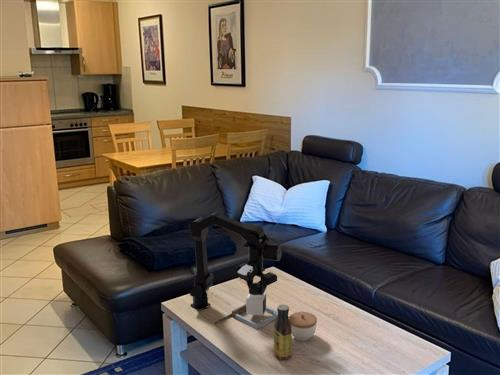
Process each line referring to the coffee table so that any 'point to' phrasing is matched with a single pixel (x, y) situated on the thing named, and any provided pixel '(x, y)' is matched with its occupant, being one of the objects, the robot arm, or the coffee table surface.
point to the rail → (223, 318)
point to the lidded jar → (303, 325)
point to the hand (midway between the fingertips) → (256, 292)
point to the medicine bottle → (255, 300)
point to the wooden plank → (239, 310)
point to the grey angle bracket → (262, 322)
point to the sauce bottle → (282, 334)
